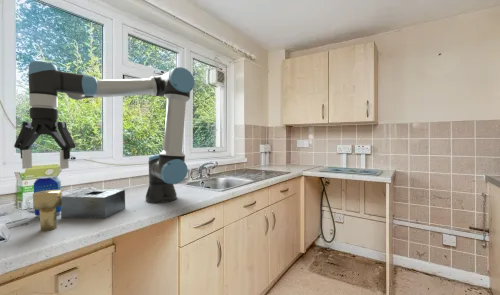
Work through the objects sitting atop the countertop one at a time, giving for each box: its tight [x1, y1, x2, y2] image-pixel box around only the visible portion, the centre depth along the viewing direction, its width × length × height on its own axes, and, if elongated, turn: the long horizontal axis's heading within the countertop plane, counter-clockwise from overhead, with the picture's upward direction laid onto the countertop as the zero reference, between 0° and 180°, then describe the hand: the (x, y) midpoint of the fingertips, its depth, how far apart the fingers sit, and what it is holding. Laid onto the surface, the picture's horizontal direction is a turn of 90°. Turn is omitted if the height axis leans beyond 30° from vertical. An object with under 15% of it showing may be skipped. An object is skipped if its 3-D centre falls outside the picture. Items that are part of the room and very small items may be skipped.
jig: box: [60, 188, 126, 220], centre depth 101 cm, size 18×14×8 cm
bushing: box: [32, 189, 63, 232], centre depth 83 cm, size 8×8×13 cm
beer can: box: [33, 175, 62, 219], centre depth 97 cm, size 8×8×16 cm
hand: (45, 168), depth 84 cm, fingers open, 13 cm apart
